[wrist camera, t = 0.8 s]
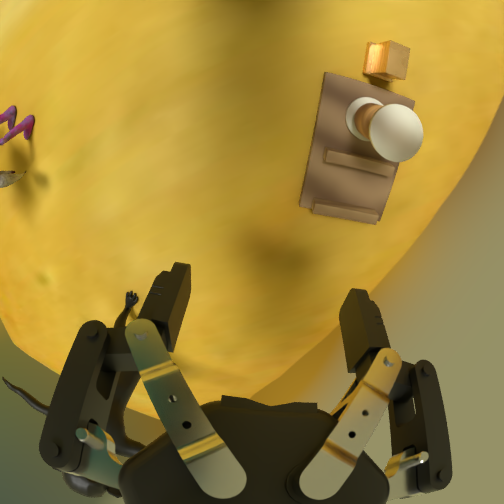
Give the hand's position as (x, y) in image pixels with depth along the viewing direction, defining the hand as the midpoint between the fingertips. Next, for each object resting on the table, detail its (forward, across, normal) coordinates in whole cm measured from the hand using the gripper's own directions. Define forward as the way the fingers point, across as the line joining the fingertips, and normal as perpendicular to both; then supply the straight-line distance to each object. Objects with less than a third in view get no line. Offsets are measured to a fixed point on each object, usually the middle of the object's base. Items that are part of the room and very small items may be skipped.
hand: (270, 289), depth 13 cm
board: (+24, -11, -3) cm, 26 cm away
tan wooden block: (+24, -11, -15) cm, 31 cm away
